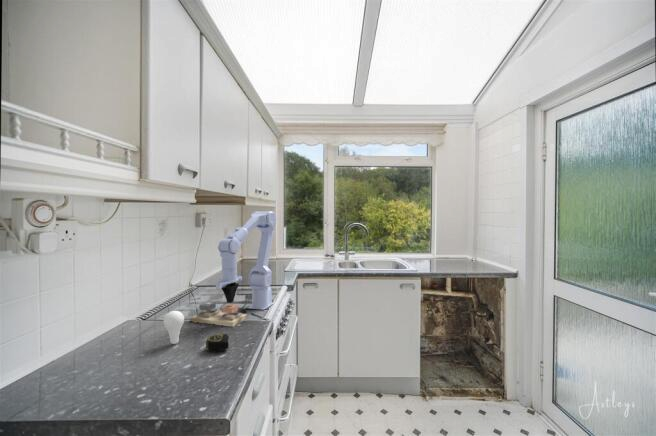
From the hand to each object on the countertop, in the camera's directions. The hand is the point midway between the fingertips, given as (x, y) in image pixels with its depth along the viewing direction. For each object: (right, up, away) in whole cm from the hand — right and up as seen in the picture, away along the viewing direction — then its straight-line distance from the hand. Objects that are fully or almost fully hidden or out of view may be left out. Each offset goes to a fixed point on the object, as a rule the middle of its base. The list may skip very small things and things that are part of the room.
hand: (230, 302), depth 120 cm
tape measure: (+4, -9, -24) cm, 25 cm away
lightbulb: (-12, -9, -20) cm, 25 cm away
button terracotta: (0, -3, 0) cm, 3 cm away
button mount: (-5, -8, +2) cm, 9 cm away
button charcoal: (-10, -4, +3) cm, 12 cm away
